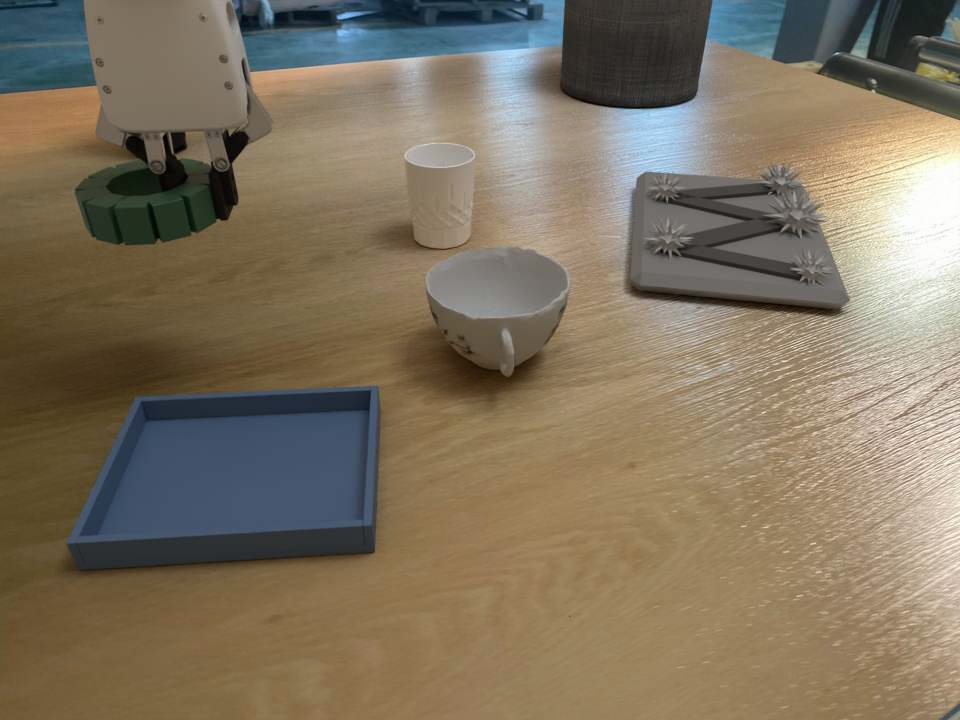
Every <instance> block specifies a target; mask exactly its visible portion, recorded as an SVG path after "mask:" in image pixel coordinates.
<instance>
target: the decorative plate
mask: <svg viewBox="0 0 960 720" xmlns="http://www.w3.org/2000/svg"><path fill="white" fill-rule="evenodd" d="M789 163H790V164H789ZM792 163H793V161H791V162H790V161H788V162H787V164H786V161H784V162H783V164H782V165H780V163H778V165H777V163H776V161H775V160H774V162H773V161H771V167H770V166H768V169H769V170H768V169H766V168H765V167H762V169H763V171H764V172H757V175H759V176H760V177H762V179H756V178H743V177H742V178H741V177H730V176H729V177H728V176H715V175H714V176H713V175H699V174H686V173H675V172H674V171H672V172H666V171H665V172H662V171H659V172H657V171H644V172H643V173H642V174H640V175H639V176H637V177H636V179H635V180H636V181H635V193H634V194H635V197H634V210H633V227H632V228H633V229H632V241H631V259H630V271H629V272H630V273H629V282H630V283H631V285H633V286H634V287H635V289H636V290H638V291H640V292H650V293H661V294H670V295H682V296H691V297H692V296H693V297H701V298H702V297H704V298H713V299H722V300H723V299H724V300H734V301H745V302H753V303H755V302H756V303H764V304H767V303H768V304H775V305H787V306H797V307H799V306H800V307H808V308H816V309H817V308H819V309H830V310H837V309H839V308H840V307H842V306H844V305H846V304H848V303H850V301H851V299H850V296H849V293H848V291H847V289H846V286H845V284H844V281H843V279H842V276H841V273H840V271H839V268H838V266H837V264H836V261H835V259H834V256H833V254H832V250H831V249H830V246H829V244H828V241H827V239H826V235H825V234H824V231H823V228H822V225H821V223H828V222H829V221H827V220H822V219H824V218H825V215H826V213H817V212H816V211H817V210H818V209H820V208H821V207H822V206H823V204H824V203H825V202H824V201H822V202H821V203H818V202H819V201H820V200H821V199H822V198H823V197H822V196H821V197H819V198H817V199H816V200H814V199H815V197H814V196H813V198H811V199H810V196H811V195H810V194H811V193H812V192H811V191H812V189H810V190H809V192H808V189H805V188H806V187H805V186H804V185H803V183H805V180H794V179H796V178H798V177H799V175H802V171H800V172H798V173H796V172H797V171H799V170H800V169H801V168H802V167H800V166H799V168H797V169H795V168H793V169H792V170H790V169H791V167H792ZM781 166H782V167H781ZM816 203H818V204H816Z"/></svg>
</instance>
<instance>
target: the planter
mask: <svg viewBox="0 0 960 720" xmlns="http://www.w3.org/2000/svg"><path fill="white" fill-rule="evenodd" d="M713 1H714V0H564V4H563V5H564V6H563V7H564V8H563V23H562V25H563V26H562V46H561V68H560V79H559V86H560V89H561V90H562V91H563V92H565V93H566V94H568V95H569V96H571V97H573V98H576V99H579V100H582V101H584V102H585V101H586V102H590V103H594V104H598V105H605V106H613V107H622V108H655V107H665V106H672V105H675V104H680V103H683V102H686V101H689V100H691V99H693V98H694V97H695V96H696V95H697V94H698V90H699V82H700V76H701V71H702V65H703V58H704V55H705V48H706V42H707V37H708V31H709V25H710V18H711V14H712V7H713Z"/></svg>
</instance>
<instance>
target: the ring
mask: <svg viewBox="0 0 960 720" xmlns="http://www.w3.org/2000/svg"><path fill="white" fill-rule="evenodd" d="M178 160H180V161H181V163H183V165H184V169H185V174H186V178H187V179H186V181H185V183H183V184H181V185H179V186H177V187H175V188H173V189H171V190H169V191H166V192H162V189H161V185H160V181H159V177H158V174H155V173H153V172H152V171H151V170H150V168H149V165H148V164H146V163H145V162H144V161H142V160H141V159H137V160H133V161H128V162H124V163H118V164H116V165H115V167H114V166H107V167H105V168H103V169H100V170H98V171H96V172H94V173H91V174H88V176H87V177H86V178H83V179H82V180H81V182H80V183H78V185H77V186H76V187H75V189H74V196H75V198H76V202H77V205H78V208H79V210H80V214H81V216H82V217H81V218H82V220H83V223H84V226H85V228H86V230H87V231H88V233H89V234H90V236H91V237H92V238H93V239H94V238H95V239H96V241H100V242H103V243H104V242H105V243H108V244H112V245H116V246H120V245H122V244H124V246H142V245H143V246H144V245H146V246H147V245H156V244H157V242H158V240H159V241H160V242H161V243H163V244H165V243H167V242H172V241H175V240H176V241H177V240H180V239H183V238H186V237H190V236H192V233H194V234H195V233H196V234H199V233H200V232H202V231H204V230H206V229H208V228H209V227H211V226H213V225H215V224H216V223H217V222H218V220H219V219H218V218H217V214H216V209H215V204H214V200H213V195H212V191H211V186H210V182H209V176H208V174H209V172H210V170H211V168H212V167H211V164H210V163H207V162H205V163H204V161H203V160H196V159H191V158H185V157H181V158H179V159H178Z"/></svg>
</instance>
